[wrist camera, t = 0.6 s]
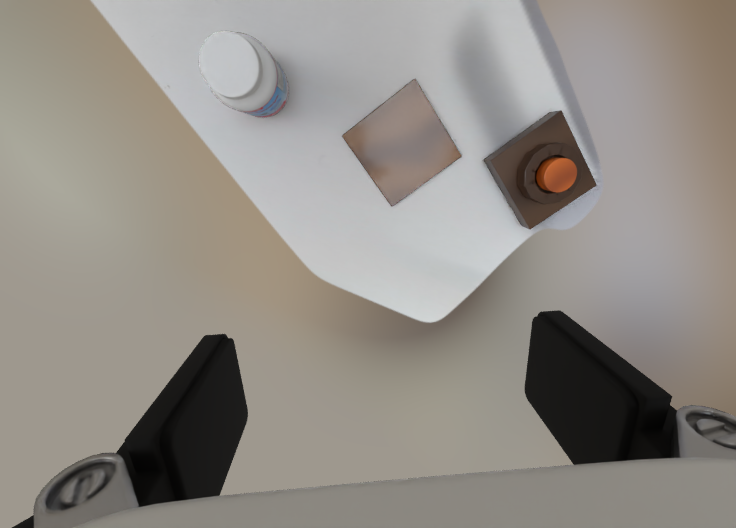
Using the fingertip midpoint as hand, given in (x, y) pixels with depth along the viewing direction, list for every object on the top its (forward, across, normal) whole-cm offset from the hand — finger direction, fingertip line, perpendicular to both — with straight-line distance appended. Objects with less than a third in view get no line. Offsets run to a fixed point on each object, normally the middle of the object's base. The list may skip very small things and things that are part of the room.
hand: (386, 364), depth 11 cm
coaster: (+33, -6, -6) cm, 34 cm away
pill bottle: (+33, +10, -13) cm, 37 cm away
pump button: (+29, -22, -2) cm, 37 cm away
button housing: (+33, -22, -2) cm, 40 cm away
